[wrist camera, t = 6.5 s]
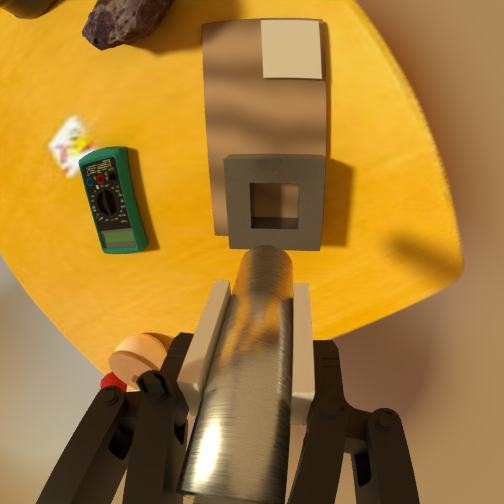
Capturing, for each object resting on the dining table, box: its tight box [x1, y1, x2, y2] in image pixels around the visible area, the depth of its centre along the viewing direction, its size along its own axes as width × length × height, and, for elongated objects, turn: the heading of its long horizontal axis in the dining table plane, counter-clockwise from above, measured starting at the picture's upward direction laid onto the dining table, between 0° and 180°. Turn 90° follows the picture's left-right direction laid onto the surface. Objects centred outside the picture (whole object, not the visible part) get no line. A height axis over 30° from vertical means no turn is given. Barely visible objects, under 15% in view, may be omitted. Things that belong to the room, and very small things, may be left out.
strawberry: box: [100, 371, 127, 392], centre depth 50 cm, size 6×8×10 cm
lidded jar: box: [109, 334, 167, 391], centre depth 44 cm, size 11×11×9 cm
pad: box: [261, 20, 322, 79], centre depth 23 cm, size 7×6×1 cm
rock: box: [82, 0, 175, 51], centre depth 18 cm, size 12×9×10 cm
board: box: [202, 18, 326, 236], centre depth 28 cm, size 26×13×1 cm, turn 2°
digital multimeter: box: [79, 147, 148, 254], centre depth 33 cm, size 7×15×3 cm, turn 6°
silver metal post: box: [176, 245, 293, 504], centre depth 11 cm, size 3×3×15 cm
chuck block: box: [223, 154, 325, 251], centre depth 30 cm, size 10×10×3 cm
